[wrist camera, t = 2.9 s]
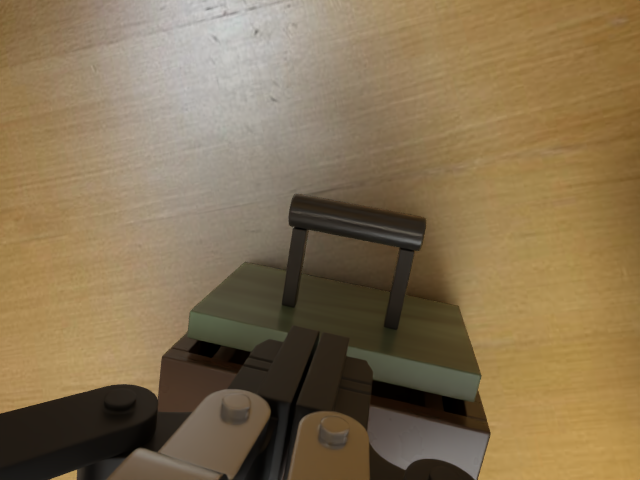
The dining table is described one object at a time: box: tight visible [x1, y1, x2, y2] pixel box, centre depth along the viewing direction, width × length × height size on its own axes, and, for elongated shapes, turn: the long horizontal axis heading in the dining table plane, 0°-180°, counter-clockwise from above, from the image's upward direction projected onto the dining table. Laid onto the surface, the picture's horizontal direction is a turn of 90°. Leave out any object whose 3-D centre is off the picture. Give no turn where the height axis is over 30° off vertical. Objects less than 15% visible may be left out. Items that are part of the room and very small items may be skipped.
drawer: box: [187, 194, 481, 411], centre depth 23 cm, size 18×11×7 cm, turn 171°
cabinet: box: [158, 332, 491, 480], centre depth 25 cm, size 15×13×9 cm
